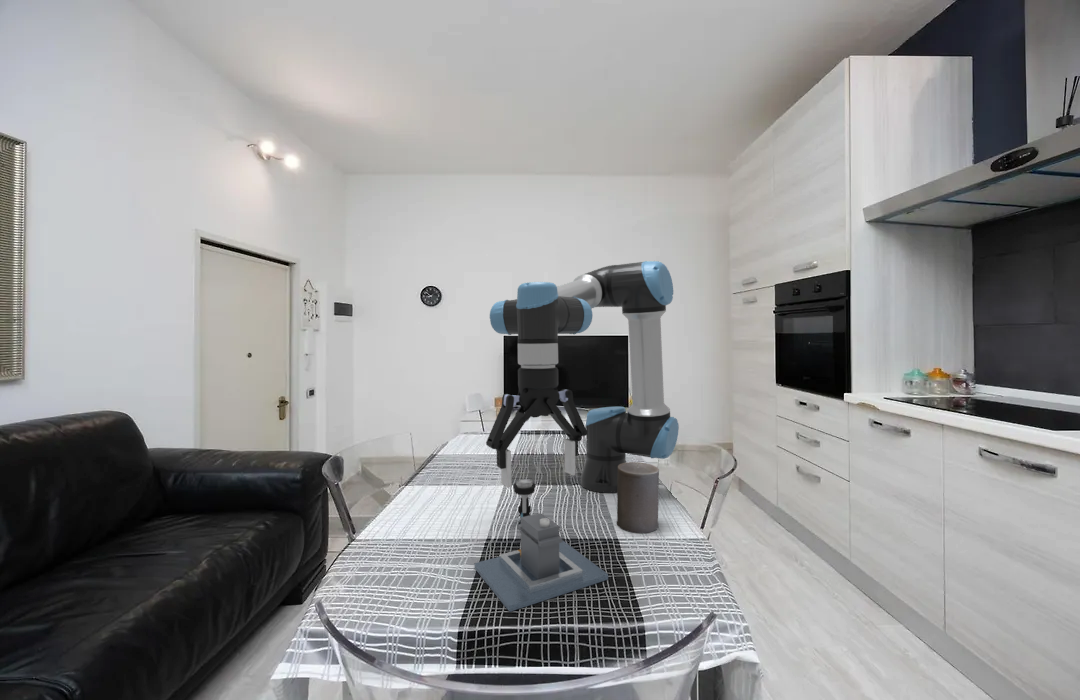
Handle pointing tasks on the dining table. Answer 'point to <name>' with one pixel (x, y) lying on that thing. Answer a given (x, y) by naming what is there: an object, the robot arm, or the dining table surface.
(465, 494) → the dining table surface
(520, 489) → the push button
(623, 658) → the dining table surface
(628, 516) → the pillar candle
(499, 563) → the plate
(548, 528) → the servo
